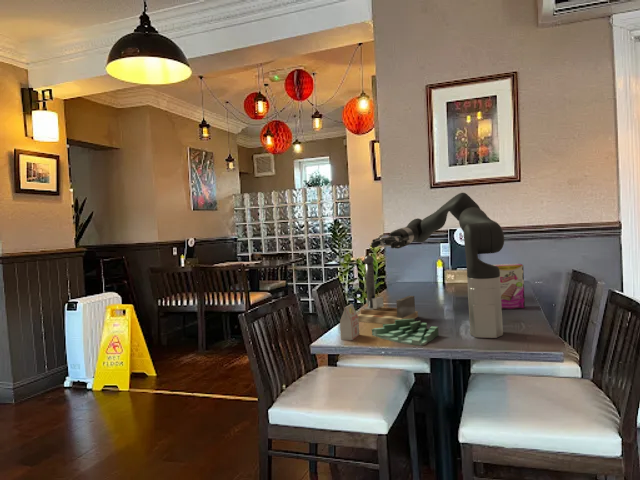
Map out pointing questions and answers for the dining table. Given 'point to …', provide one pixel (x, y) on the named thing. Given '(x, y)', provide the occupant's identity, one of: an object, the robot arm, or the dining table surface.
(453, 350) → the dining table surface
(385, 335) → the money
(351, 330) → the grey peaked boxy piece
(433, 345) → the dining table surface
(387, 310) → the press bench
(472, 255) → the robot arm
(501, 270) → the candy bar box
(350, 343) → the dining table surface
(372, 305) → the handle
